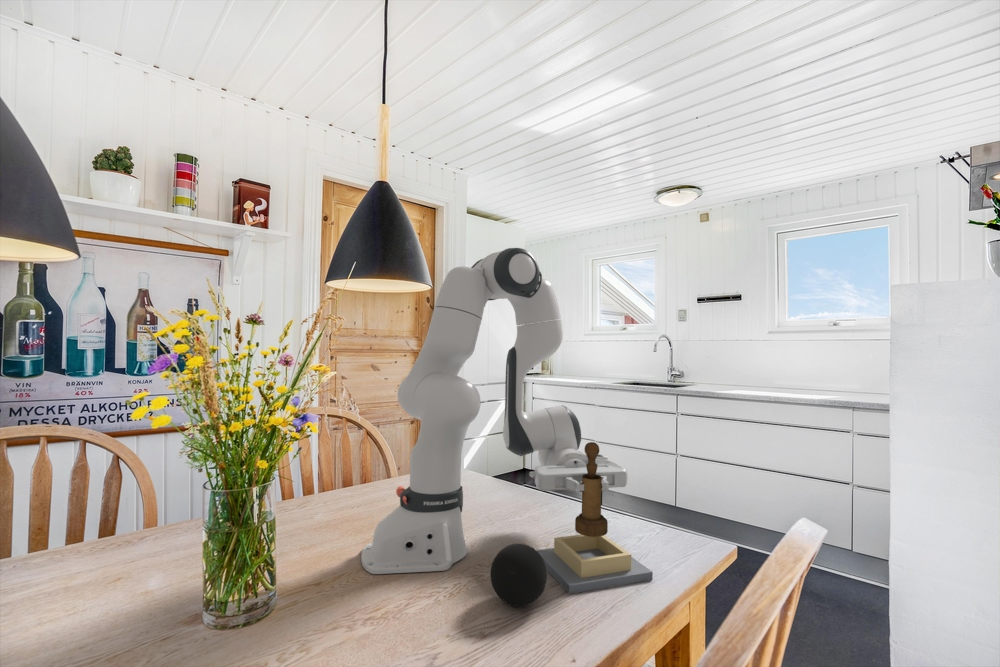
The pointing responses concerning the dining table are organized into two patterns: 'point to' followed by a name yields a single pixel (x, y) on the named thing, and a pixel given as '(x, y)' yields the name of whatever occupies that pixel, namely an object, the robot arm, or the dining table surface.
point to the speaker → (518, 575)
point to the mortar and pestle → (591, 499)
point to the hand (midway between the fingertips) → (593, 487)
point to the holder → (591, 563)
